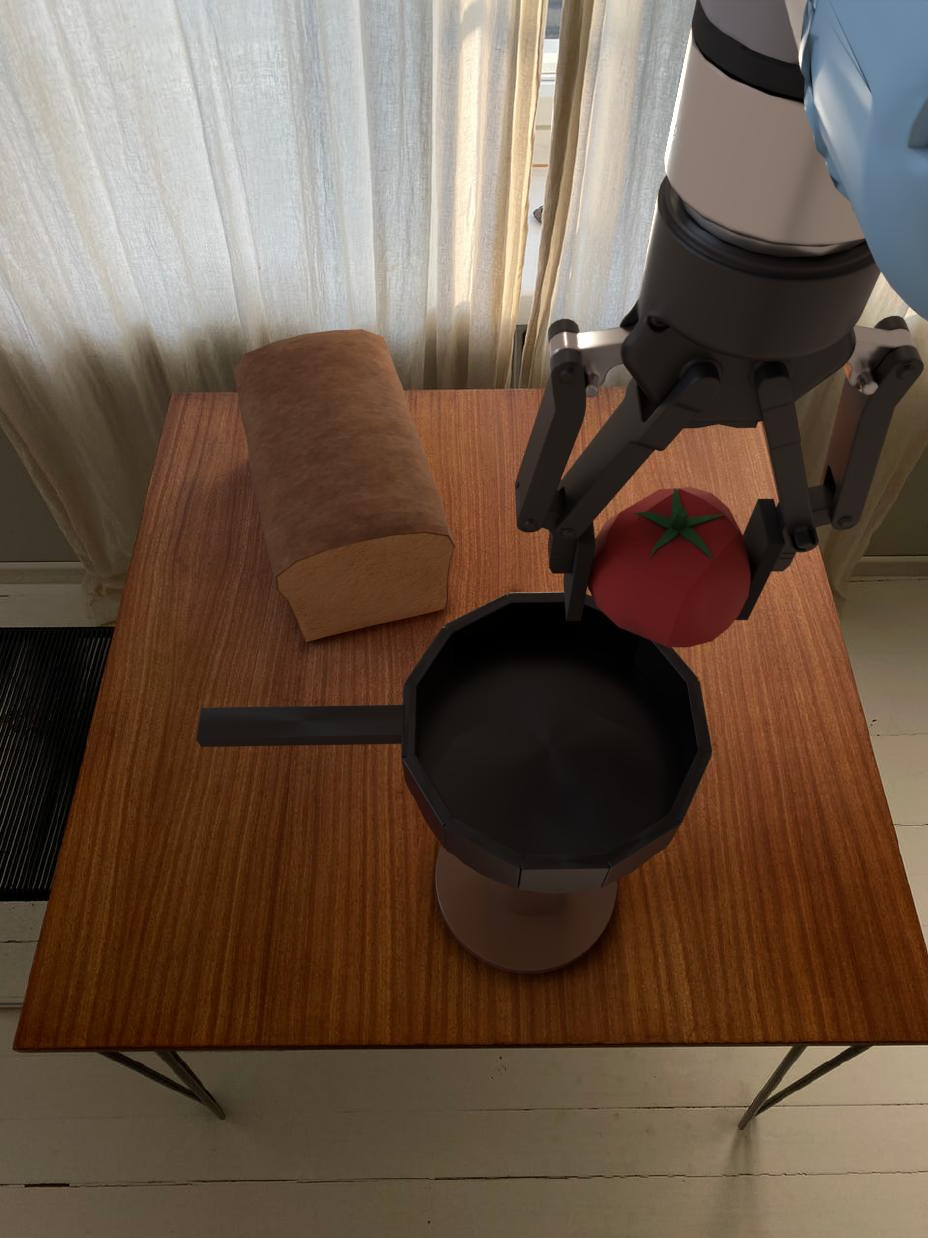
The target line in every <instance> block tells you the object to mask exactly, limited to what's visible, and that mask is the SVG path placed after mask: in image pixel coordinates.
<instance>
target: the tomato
mask: <svg viewBox="0 0 928 1238" xmlns="http://www.w3.org/2000/svg"><path fill="white" fill-rule="evenodd" d="M743 534H744V533H743V532H742V530H741V529H740V527H739V525H738V522H737V521H736V518H735V517H734V515H733V513H732V511H731V509H730V508H729V506H727V505H726V504H725V503H724V502H723V501H722V500H720V499H719V498H718V497H717V496H716V495H714V493H713V492H710V491H707V490H703V489H699V488H695V487H693V486H683V487H682V486H681V487H669V488H659V489H657V490H655V491H654V492H652V493H650V494H648V495H647V496H645V497H643V498H642V499H640V500H639V501H637V502H635V503H633V504H632V505H630V506H628V507H626V508H624V509H623V510H622V511H619V512H618V513H617V514H615V515H613V516H612V517H610V518H608V519H607V520H606V521H605V522H604V523H603V525H602V527H601V529H599V531H598V533H597V535H596V536H595V543H596V545H595V551H594V556H593V561H592V566H591V571H590V576H589V581H588V586H587V590H588V591H589V593H590V596H592V597H593V599H594V601H595V604H596V606H597V607H598V608H599V609H600V610H601V611H602V612H603V613H604V614H605V615H606V616H607V617H609V618H610V619H611V620H612V621H613V622H614V623H615V624H616V625H617V626H618V627H620V628H622V629H625V630H627V631H629V632H632V633H634V634H637V635H639V636H642V637H644V638H646V639H649V640H651V641H654V642H656V643H658V644H661V645H663V646H666V647H672V648H681V649H682V648H692V647H696V646H699V645H703V644H707V643H710V642H713V641H714V640H716V639H717V638H718V637H720V636H721V635H722V634H723V633H725V632H726V631H727V630H729V628H730V627H731V626H732V624H733V623H734V622H735V621H736V620H735V619H736V618H737V617H738V616H739V614H740V612H741V610H742V608H743V606H744V604H745V602H746V600H747V598H748V595H749V588H750V581H751V577H750V562H749V556H748V550H747V546H746V543H745V540H744V537H743Z"/></svg>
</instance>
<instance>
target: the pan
mask: <svg viewBox="0 0 928 1238" xmlns="http://www.w3.org/2000/svg"><path fill="white" fill-rule="evenodd" d="M195 740H196V742H197V743H198V744H199V746H200V748H221V747H222V748H225V747H226V748H228V747H229V748H230V747H288V746H289V747H291V746H292V747H293V746H298V747H299V746H352V745H354V746H357V745H359V746H360V745H401V749H400V758H401V764H402V770H403V775H404V780H405V784H406V787H407V789H408V790H409V792H410V794H411V796H412V797H413V799H414V800H415V802H416V805H417V808H418V809H419V811H420V813H421V816H422V817H423V819H424V821H425V823H426V824H427V826H428V827H429V829H430V830H431V832H432V833H433V835H434V836H435V837H436V839H437V840H438V841H439V843H440V846H439V850H438V853H437V858H436V862H435V873H434V879H435V880H434V882H435V892H436V897H437V903H438V906H439V909H440V912H441V915H442V918H443V919H444V921H445V924H446V926H447V928H448V929H449V931H450V932H451V934H452V935H453V937H454V938H455V939H456V940H457V942H459V944H460V945H461V947H463V949H465V950H466V951H467V952H468V953H470V954H471V956H473V957H475V958H476V959H477V960H479V961H481V962H482V963H484V964H486V965H488V966H490V967H492V968H495V969H498V970H500V971H503V972H507V973H512V974H516V975H517V974H518V975H540V974H546V973H549V972H554V971H557V970H559V969H562V968H564V967H567V966H568V965H571V964H573V963H574V962H577V960H579V959H580V958H581V957H583V956H584V955H585V954H587V953H588V951H590V949H591V948H592V947H593V946H594V945H595V944H596V943H597V942H598V940H599V939H600V937H601V936H602V934H603V933H604V931H605V929H606V927H607V925H608V924H609V922H610V920H611V917H612V914H613V911H614V908H615V904H616V900H617V893H618V881H619V880H620V879H623V878H624V877H626V876H628V875H630V874H632V873H633V872H635V871H636V870H638V869H639V868H640V867H642V866H643V865H644V864H645V863H647V862H649V861H650V860H651V858H653V857H655V856H656V855H658V854H659V853H661V852H663V850H665V849H667V848H668V847H669V845H670V844H671V842H672V841H673V839H674V837H675V835H676V834H677V832H678V830H679V829H680V828H681V825H682V824H683V822H684V820H685V817H686V816H687V814H688V813H687V812H688V811H689V809H690V807H691V804H692V801H693V799H694V798H695V794H696V792H697V790H698V788H699V786H700V783H701V781H702V779H703V776H704V774H705V772H706V770H707V768H708V765H709V762H710V760H711V758H712V756H713V754H712V753H713V745H712V741H711V735H710V730H709V725H708V719H707V713H706V709H705V701H704V697H703V691H702V685H701V681H700V680H699V677H698V676H697V675H696V674H695V672H694V671H693V670H692V669H691V668H690V666H689V665H687V663H686V662H685V661H684V660H683V658H682V657H681V656H680V654H678V653H677V651H676V650H675V649H674V647H666V646H663V645H661V644H658V643H656V642H654V641H651V640H649V639H646V638H644V637H642V636H639V635H637V634H634V633H632V632H629V631H627V630H625V629H622V628H620V627H618V626H617V625H616V624H615V623H614V622H613V621H612V620H611V619H610V618H609V617H607V616H606V615H605V614H604V613H603V612H602V611H601V610H600V609H599V608H598V607H597V606H596V604H595V601H594V599H593V597H592V595H591V594H588V593H586V597H585V602H584V607H583V612H582V617H581V621H566V610H565V597H564V591H540V592H539V591H535V592H534V591H533V592H508V594H507V593H505V594H502V595H500V596H499V597H496V598H495V599H492V600H490V601H489V602H487V603H485V604H483V605H481V606H479V607H477V608H475V609H473V610H471V611H469V612H466V613H465V614H463V615H461V616H459V617H458V618H455V619H453V620H451V621H449V622H446V623H445V624H444V626H442V627H440V629H439V631H437V634H436V635H435V637H434V638H433V640H432V641H431V642H430V644H429V645H428V647H427V649H426V650H425V651H424V652H423V655H422V656H421V658H420V659H419V660H418V662H417V663H416V665H415V666H414V668H413V669H412V671H411V672H410V674H409V675H408V676H407V678H406V680H405V681H404V683H403V685H402V704H356V705H355V704H354V705H353V704H352V705H350V704H349V705H348V704H347V705H290V706H289V705H288V706H287V705H285V706H279V705H278V706H226V707H225V706H224V707H223V706H219V707H200V712H199V717H198V723H197V728H196V734H195Z"/></svg>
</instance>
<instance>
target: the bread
mask: <svg viewBox="0 0 928 1238" xmlns="http://www.w3.org/2000/svg"><path fill="white" fill-rule="evenodd" d="M233 373H234V379H235V384H236V391H237V397H238V398H237V399H238V405H239V411H240V418H241V422H242V427H243V429H244V433H245V437H246V445H247V451H248V452H247V453H248V459H249V466H250V474H251V480H252V484H253V488H254V491H255V496H256V497H255V498H256V503H257V507H258V511H259V514H260V518H261V521H262V530H263V531H262V532H263V540H264V544H265V548H266V551H267V554H268V559H269V563H270V567H271V571H272V577H273V582H274V585H275V588H276V591H277V592H278V593H279V594H280V595H281V596H282V597H283V598H284V599H285V600H286V603H287V604H288V606H289V608H290V611H291V612H292V615H293V616H294V619H295V621H296V624H297V626H298V630H299V632H300V635H301V636H302V638H303V641H304V643H308V642H312V641H316V640H319V639H323V638H326V637H327V638H328V637H331V636H335V635H339V634H343V633H346V632H347V633H348V632H351V631H356V630H358V629H363V628H367V627H368V628H369V627H372V626H376V625H380V624H385V623H390V622H395V621H399V620H405V619H408V618H413V617H417V616H421V615H426V614H430V613H434V612H438V611H441V610H445V609H447V605H448V600H449V590H448V589H449V588H448V585H449V584H448V583H449V574H450V569H451V568H450V567H451V560H452V557H453V554H454V551H455V549H456V543H455V538H454V536H453V533H452V530H451V528H450V524H449V521H448V517H447V515H446V511H445V510H446V509H445V508H444V504H443V500H442V498H441V496H440V493H439V492H438V489H437V488H436V487H437V486H436V485H435V481H434V478H433V474H432V469H431V466H430V463H429V462H428V458H427V456H426V452H425V447H424V444H423V439H422V438H421V435H420V433H419V430H418V428H417V426H416V423H415V421H414V417H413V416H412V413H411V411H410V409H409V406H408V403H407V399H406V396H405V391H404V388H403V385H402V382H401V380H400V378H399V375H398V372H397V369H396V367H395V365H394V361H393V359H392V356H391V353H390V350H389V347H388V344H387V341H386V340H385V337H384V336H381V335H379V334H376V333H374V332H372V331H371V332H370V331H368V330H366V329H365V330H364V329H362V328H358V329H355V328H354V329H333V330H323V331H316V332H310V333H302V334H299V335H294V336H291V337H288V338H284V339H280V340H277V341H273V342H271V343H270V342H269V343H267V344H266V345H263V346H260V347H257V348H255V349H253V350H250V351H248V352H246V353H245V354H244V355H243V356H242V358H241V359H240V360H239V361H238V363H237V364H236V366H235V367H234V368H233Z"/></svg>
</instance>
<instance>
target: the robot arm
mask: <svg viewBox="0 0 928 1238" xmlns="http://www.w3.org/2000/svg"><path fill="white" fill-rule="evenodd" d="M682 66H683V67H682V71H681V76H680V82H679V86H678V91H677V95H676V96H677V97H676V101H675V104H674V105H675V106H674V110H673V116H672V121H671V125H670V131H669V135H668V140H667V145H666V150H665V155H664V166H665V167H664V168H665V169H664V170H665V171H664V172H665V176H664V178H663V180H662V181H661V183H660V185H659V188H658V192H657V196H656V202H655V209H654V213H653V218H652V224H651V228H650V233H649V239H648V244H647V248H646V249H647V250H646V254H645V260H644V265H643V271H642V276H641V282H640V287H639V292H638V296H637V297H636V300H635V302H634V303H633V305H632V306H631V307H630V309H629V310H628V311H627V312H626V313H625V315H624V316H623V318H622V319H621V321H620V322H619V326H617V327H610V328H609V327H608V328H603V329H602V328H601V329H595V330H589V331H582V332H581V331H580V327H579V325H578V323H577V322H575V320H573V319H570V318H560V319H557V320H555V321H553V322H552V323H551V324H550V325H549V327H548V329H547V342H548V353H549V366H550V373H549V376H548V379H547V382H546V384H545V385H546V386H545V388H544V391H543V395H542V397H541V401H540V404H539V407H538V410H537V414H536V417H535V419H534V423H533V426H532V429H531V432H530V435H529V438H528V441H527V445H526V448H525V451H524V453H523V457H522V460H521V462H520V466H519V469H518V471H517V475H516V479H515V482H514V498H515V499H514V500H515V517H516V527H517V529H518V530H519V531H521V533H522V532H523V533H527V534H528V533H529V534H530V533H532V534H533V533H535V532H538V531H540V530H541V529H544V530H547V531H549V532H548V539H547V555H548V568H549V570H550V572H551V574H557V575H559V574H560V575H561V574H563V577H562V582H563V592H564V597H565V610H566V621H581V617H582V612H583V607H584V602H585V597H586V594H587V593H588V592H587V591H588V581H589V576H590V571H591V566H592V561H593V556H594V551H595V545H596V543H595V538H596V535H595V525H594V521H595V520H596V519H597V518H598V516H599V515H600V514H601V513H602V512H603V510H605V508H606V507H607V506H608V505H609V504H610V502H612V501H613V499H614V498H615V497H616V496H617V494H619V492H620V491H621V490H622V489H623V488H624V486H625V485H627V483H628V482H629V480H630V479H632V477H633V476H634V475H635V474H636V473H637V472H638V470H639V469H641V467H642V466H643V464H645V463H646V461H647V460H649V457H651V455H652V454H653V453H654V452H655V451H658V452H664V451H665V450H666V449H667V448H668V447H669V446H670V444H671V443H672V442H673V441H674V440H675V439H676V438H677V437H678V435H680V433H682V431H683V430H685V429H701V428H707V427H712V426H717V425H718V426H725V427H729V428H734V429H757V427H758V424H759V423H761V428H762V432H763V437H764V441H765V446H766V450H767V454H768V459H769V465H770V468H771V474H772V477H773V482H774V487H775V491H776V496H777V499H778V502H777V504H776V501H775V498H757V500H756V502H755V505H754V507H753V510H752V512H751V514H750V517H749V518H748V519H749V520H748V521H747V524H746V527H745V529H744V531H743V533H742V534H743V537H744V540H745V543H746V546H747V550H748V556H749V562H750V577H751V581H750V588H749V595H748V598H747V600H746V602H745V604H744V606H743V608H742V610H741V612H740V614H739V616H738V617H737V618H736V619H735V621H749V619H750V617H751V614H752V612H753V611H754V608H755V606H756V605H757V602H758V600H759V599H760V596H761V594H762V592H763V590H764V588H765V586H766V584H767V583H768V582H767V581H768V580H769V577H770V576H771V574H772V573H773V572H774V573H775V572H776V573H777V572H779V573H780V572H782V573H783V572H784V571H785V570H786V569H788V568H789V567H791V564H792V562H793V560H794V558H795V557H796V555H797V553H800V554H801V553H808V552H810V551H812V550H814V549H816V548H817V547H818V545H819V542H820V540H819V536H818V532H817V530H816V528H818V527H822V526H827V525H831V527H832V528H833V529H834V530H836V531H846V530H849V529H852V528H854V527H855V526H857V525H858V524H859V523H860V521H861V518H862V515H863V512H864V509H865V506H866V503H867V499H868V496H869V492H870V489H871V486H872V483H873V479H874V476H875V472H876V469H877V466H878V463H879V460H880V457H881V454H882V451H883V448H884V443H885V441H886V437H887V435H888V431H889V429H890V424H891V421H892V418H893V415H894V412H895V409H896V407H897V405H898V404H899V403H900V402H901V400H902V399H903V398H904V397H905V396H906V395H907V393H908V392H909V390H910V389H911V388H912V386H914V384H915V383H916V381H917V380H918V379H919V377H920V376H921V375H922V373H923V372H924V369H925V364H924V361H923V359H922V357H921V355H920V352H919V350H918V347H917V345H916V343H915V340H914V338H913V336H912V334H911V330H910V328H909V326H908V324H907V322H906V320H905V318H904V317H903V316H900V315H890V316H886V317H884V318H882V319H881V320H879V321H878V322H876V324H875V325H874V326H873V327H868V326H862V325H857V323H858V322H859V321H860V319H861V318H862V316H863V313H864V311H865V309H866V306H867V304H868V302H869V299H870V297H871V295H872V293H873V291H874V289H875V286H876V285H877V282H878V279H879V278H880V275H881V274H882V275H883V278H884V279H885V280H886V281H887V283H888V285H889V286H890V288H891V289H892V291H894V292H895V293H896V294H897V295H898V296H899V298H900V299H901V300H902V301H903V302H904V303H905V304H906V306H908V307H909V308H910V309H911V310H912V311H913V312H914V313H915V314H917V315H918V316H919V317H920V318H922V319H924V320H925V321H926V322H928V0H695V5H694V9H693V14H692V19H691V27H690V31H689V37H688V42H687V46H686V51H685V56H684V61H683V65H682ZM621 365H623V366H624V367H625V369H626V370H627V372H628V373H629V375H631V379H630V380H629V381H628V384H627V386H626V388H625V392H624V393H625V394H624V397H623V399H622V400H621V402H620V403H619V404H618V406H617V407H616V408H615V409H614V411H613V412H612V414H611V415H610V416H609V417H608V419H607V420H606V421H605V422H604V423H603V425H602V427H601V428H600V429H599V430H598V432H597V433H596V434H595V435H594V437H593V438H592V439H591V440H590V442H589V443H588V445H587V446H586V447H585V449H584V450H583V451H582V452H581V453H580V455H579V456H578V458H577V459H576V460H575V461H574V462H573V464H572V465H571V467H570V468H569V469H568V471H567V472H566V473H565V475H564V472H565V471H566V468H567V464H568V462H569V459H570V457H571V454H572V451H573V449H574V448H575V447H574V446H575V444H576V442H577V438H578V436H579V433H580V431H581V429H582V426H583V423H584V420H585V416H586V411H587V410H586V409H587V398H594V397H596V396H598V395H599V393H600V387H602V386H603V385H604V383H605V382H606V378H607V375H608V373H609V371H611V370H612V369H613V368H615V367H617V366H621ZM842 368H843V369H844V372H845V377H844V380H843V383H842V387H841V393H840V396H839V400H838V405H837V408H836V414H835V417H834V422H833V426H832V430H831V434H830V439H829V442H828V447H827V451H826V454H825V455H826V456H825V460H824V463H823V469H822V471H821V472H822V473H821V477H820V481H819V485H814V486H810V487H809V485H808V478H807V473H806V467H805V461H804V455H803V450H802V444H801V443H802V438H801V432H800V426H799V421H798V414H797V409H796V402H797V401H799V399H802V398H803V397H805V395H807V394H808V393H809V392H811V391H812V390H813V389H814V388H816V387H817V386H819V385H820V384H822V383H823V382H824V381H825V380H827V379H828V378H829V377H831V376H832V375H834V374H835V373H836V372H838V371H839V370H841V369H842Z"/></svg>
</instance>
